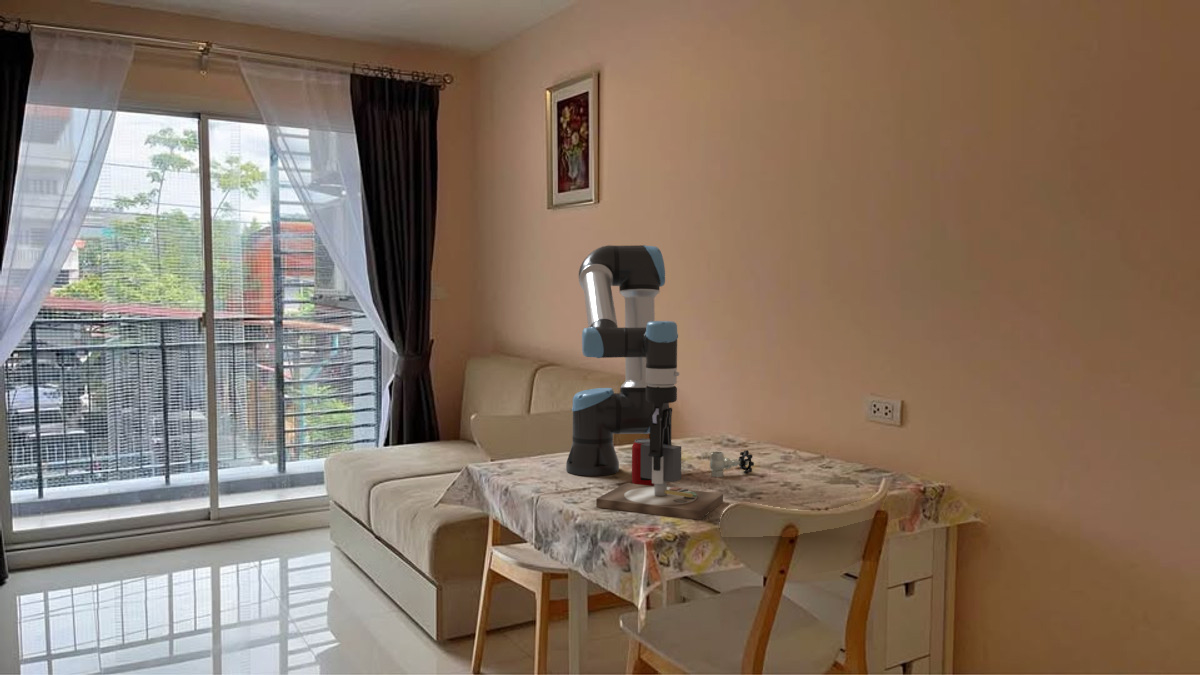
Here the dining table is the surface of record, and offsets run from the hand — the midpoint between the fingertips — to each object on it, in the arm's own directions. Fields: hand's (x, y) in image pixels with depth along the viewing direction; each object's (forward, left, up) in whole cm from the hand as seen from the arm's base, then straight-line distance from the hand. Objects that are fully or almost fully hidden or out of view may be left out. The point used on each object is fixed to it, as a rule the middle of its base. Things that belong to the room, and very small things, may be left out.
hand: (660, 480), depth 207 cm
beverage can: (-11, +17, -6) cm, 21 cm away
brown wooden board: (0, 0, -6) cm, 6 cm away
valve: (+6, +39, -6) cm, 40 cm away
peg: (+2, 0, -3) cm, 4 cm away
